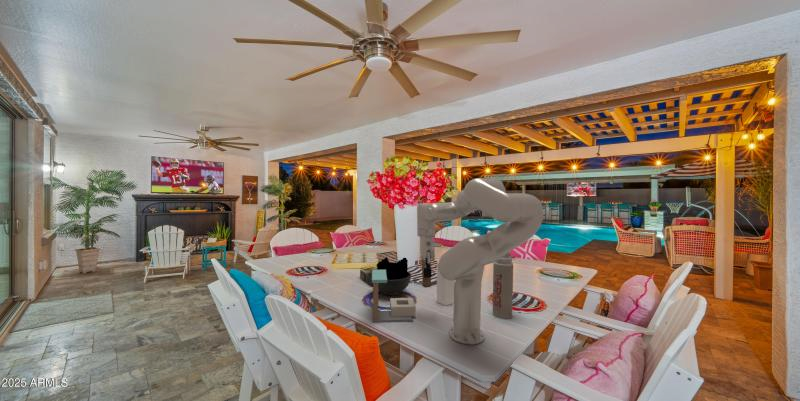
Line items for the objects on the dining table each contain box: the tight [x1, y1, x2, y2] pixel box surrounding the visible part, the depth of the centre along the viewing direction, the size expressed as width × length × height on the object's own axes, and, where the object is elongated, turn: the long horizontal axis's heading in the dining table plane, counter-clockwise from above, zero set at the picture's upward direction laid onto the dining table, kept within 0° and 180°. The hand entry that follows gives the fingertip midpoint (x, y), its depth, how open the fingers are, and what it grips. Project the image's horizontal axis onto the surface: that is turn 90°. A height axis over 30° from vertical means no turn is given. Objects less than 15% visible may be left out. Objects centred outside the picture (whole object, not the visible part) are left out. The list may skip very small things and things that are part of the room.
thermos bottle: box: [492, 252, 514, 320], centre depth 125 cm, size 8×8×28 cm
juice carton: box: [359, 267, 377, 288], centre depth 170 cm, size 20×10×6 cm, turn 29°
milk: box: [436, 260, 455, 307], centre depth 138 cm, size 6×6×22 cm
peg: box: [421, 258, 432, 288], centre depth 123 cm, size 4×4×12 cm
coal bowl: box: [375, 256, 412, 296], centre depth 149 cm, size 20×20×19 cm
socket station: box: [372, 269, 417, 324], centre depth 125 cm, size 16×18×17 cm
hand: (426, 275), depth 123 cm, fingers closed on peg, 3 cm apart
